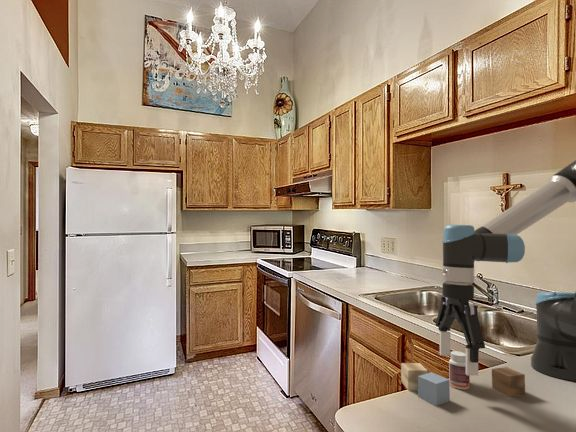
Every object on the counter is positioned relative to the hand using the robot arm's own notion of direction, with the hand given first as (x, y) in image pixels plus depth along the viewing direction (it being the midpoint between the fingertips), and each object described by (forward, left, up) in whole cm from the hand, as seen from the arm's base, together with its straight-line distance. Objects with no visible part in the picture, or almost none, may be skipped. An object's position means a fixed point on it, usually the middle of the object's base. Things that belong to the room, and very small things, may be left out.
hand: (457, 364), depth 90 cm
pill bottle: (0, 0, -6) cm, 6 cm away
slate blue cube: (+10, +7, -6) cm, 13 cm away
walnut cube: (-11, +3, -6) cm, 13 cm away
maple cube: (+12, 0, -6) cm, 13 cm away
